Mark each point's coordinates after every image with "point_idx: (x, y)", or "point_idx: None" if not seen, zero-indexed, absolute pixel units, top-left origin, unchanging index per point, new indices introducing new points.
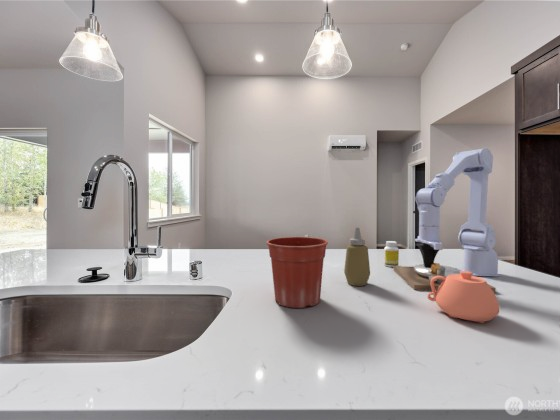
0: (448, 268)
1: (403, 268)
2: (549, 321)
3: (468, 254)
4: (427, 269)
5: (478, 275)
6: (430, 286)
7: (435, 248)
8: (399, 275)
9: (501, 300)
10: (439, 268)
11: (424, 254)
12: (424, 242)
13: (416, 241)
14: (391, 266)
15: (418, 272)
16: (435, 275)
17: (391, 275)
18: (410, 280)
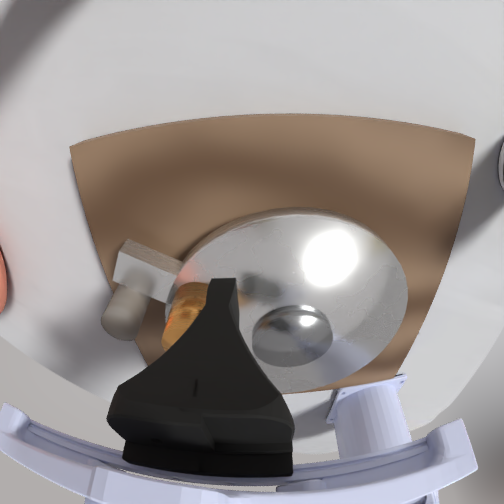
0: (311, 370)
1: (435, 179)
2: (39, 360)
3: (375, 443)
4: (282, 287)
5: (334, 400)
6: (90, 221)
7: (1, 410)
8: (354, 116)
9: (107, 363)
10: None
11: (164, 354)
12: (65, 466)
13: (104, 468)
14: (501, 151)
15: (249, 219)
16: (140, 285)
17: (359, 69)
18: (143, 136)
